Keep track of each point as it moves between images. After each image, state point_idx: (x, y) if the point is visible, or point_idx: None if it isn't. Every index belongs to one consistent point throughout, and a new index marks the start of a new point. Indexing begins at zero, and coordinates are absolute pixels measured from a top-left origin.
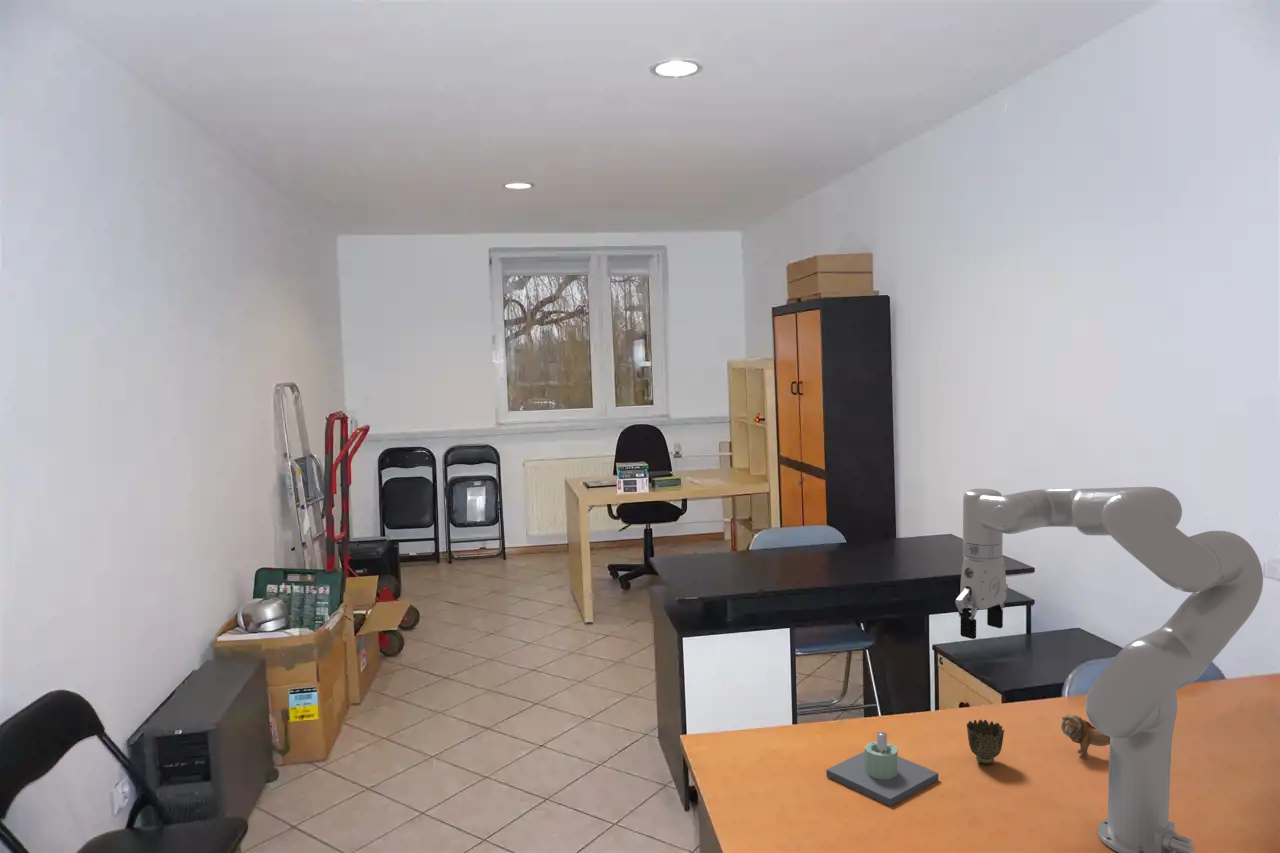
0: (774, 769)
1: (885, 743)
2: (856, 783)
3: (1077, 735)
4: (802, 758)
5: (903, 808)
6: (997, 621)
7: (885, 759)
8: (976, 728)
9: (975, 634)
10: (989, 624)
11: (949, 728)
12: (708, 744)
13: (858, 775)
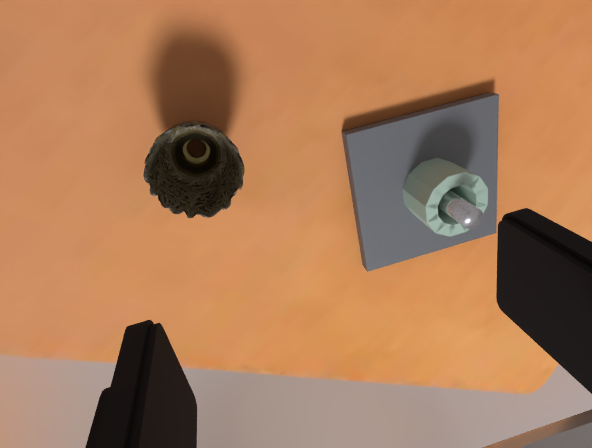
0: None
1: (463, 201)
2: (496, 170)
3: None
4: (471, 290)
5: (476, 74)
6: (164, 376)
7: (470, 172)
8: (189, 205)
9: (538, 221)
10: (189, 395)
11: (157, 297)
12: (537, 367)
13: None
